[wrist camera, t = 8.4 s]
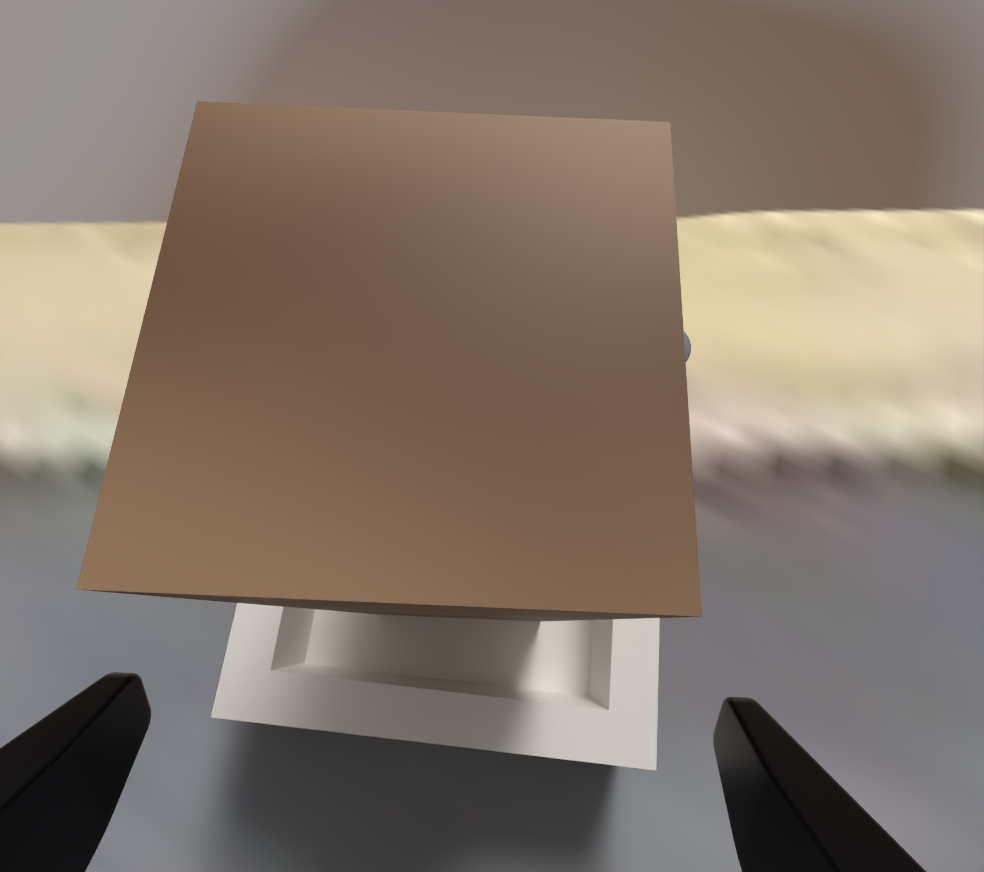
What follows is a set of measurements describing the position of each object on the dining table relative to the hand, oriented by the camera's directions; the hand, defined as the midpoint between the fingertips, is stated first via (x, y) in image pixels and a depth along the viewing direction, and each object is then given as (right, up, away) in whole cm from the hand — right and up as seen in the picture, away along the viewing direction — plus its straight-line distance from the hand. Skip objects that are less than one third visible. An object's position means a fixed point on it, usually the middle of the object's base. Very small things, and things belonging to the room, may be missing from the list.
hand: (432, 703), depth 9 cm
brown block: (0, +1, +10) cm, 10 cm away
